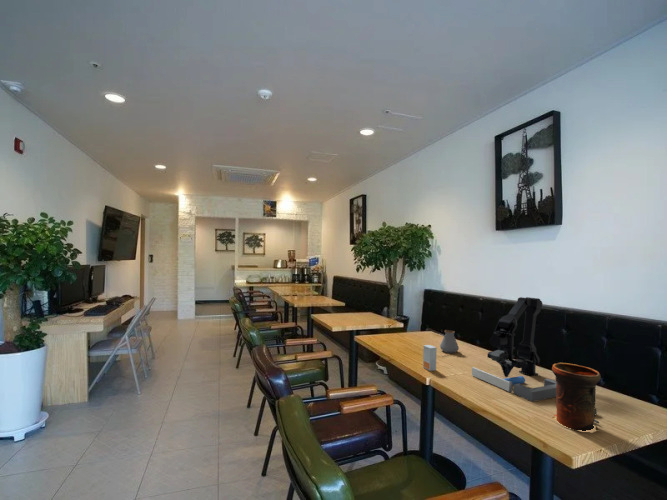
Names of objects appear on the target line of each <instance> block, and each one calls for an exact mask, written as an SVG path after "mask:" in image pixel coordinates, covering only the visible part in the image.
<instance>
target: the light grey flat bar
mask: <svg viewBox="0 0 667 500" xmlns="http://www.w3.org/2000/svg"><path fill="white" fill-rule="evenodd" d="M471 376H472V377H475V378H477V379H479V380H482V381H484V382H486V383H489V384H491V385H493V386H494V387H495V386H496V387H498V388H499V389H502V390H504V391H506V392H509V393H513V385H512V382H511V381H506V380H504V379H505V378H501V377H498V376H497V375H494V374H491V373H488V372H486V371H483V370H482V369H479V368H476V367H475V366H472V367H471Z"/></svg>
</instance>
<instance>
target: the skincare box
mask: <svg viewBox="0 0 667 500" xmlns="http://www.w3.org/2000/svg"><path fill="white" fill-rule="evenodd" d="M422 355H423V357H422V359H423V361H422V362H423V363H422V368H423V369H425V370H428V371H429V372H432V371H437V347H436V346H434V345H431V344H425V345H423V353H422Z"/></svg>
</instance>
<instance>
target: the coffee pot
mask: <svg viewBox="0 0 667 500" xmlns="http://www.w3.org/2000/svg"><path fill="white" fill-rule="evenodd" d="M427 331H430V332H433V333H435V334H437V335H439V336H442V337H443V338H442V340H441V342H440V344H439V348H440V349H441V350H442V352H444V353H448V354H455V353H456V352H458V351H459V348H460V347H459V345H458V342H457V338H456V337H455V331H454V330H450V329H445V330H444V334H443V333H440V332H439V331H436V330H434V329H432V328H429V327H427V328H426V332H427Z"/></svg>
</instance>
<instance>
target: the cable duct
mask: <svg viewBox="0 0 667 500" xmlns="http://www.w3.org/2000/svg"><path fill="white" fill-rule="evenodd" d="M556 385H557V384H556V380H553V379H550V378H544V379H543V385H542V386H538V387H531V388H530V387H528V386H526V385H523V384H522V383H521V384H514V385H513V394H514V395H516V396H519V397H521V398H523V399H525V400H528V401H529V402H532V403H533V402H539V401H542V400H547V399H548V398H549V399H553V398H552V397H554V398H556Z"/></svg>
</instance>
